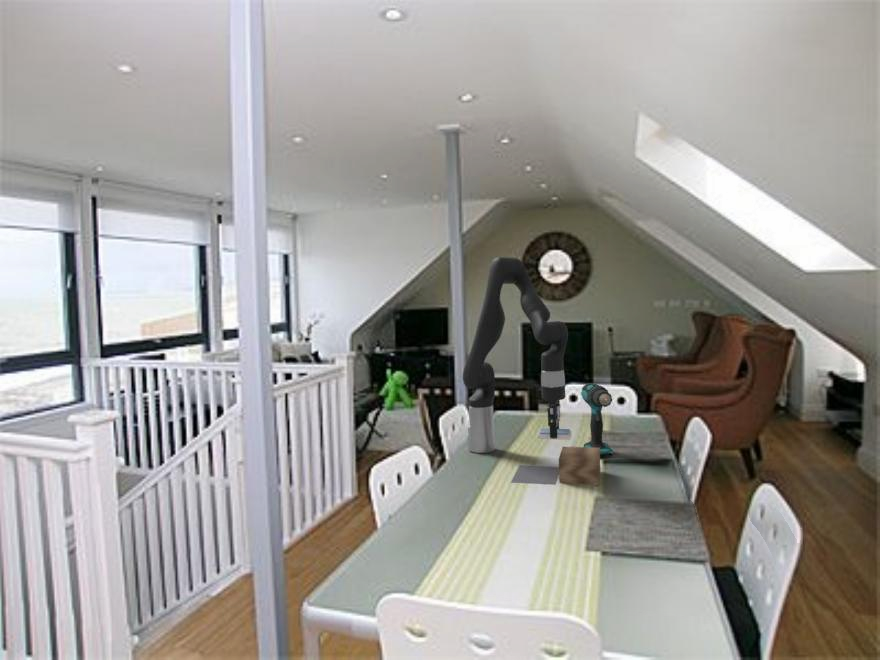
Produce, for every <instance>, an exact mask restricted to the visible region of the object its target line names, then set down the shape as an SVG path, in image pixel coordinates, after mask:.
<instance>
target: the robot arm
mask: <svg viewBox="0 0 880 660" xmlns="http://www.w3.org/2000/svg"><path fill="white" fill-rule="evenodd" d="M506 284H507V285H508V284H509V285H514V286H516V287H517V289H518V290H519V292H520V300H519V301H520V303H519V304H520V308H521V310H522V312H523V313H524V314H525V316H526V318H527V319H528V321H529V322H530V325H531V328H532V332H533V336H534V338H535V340H536V341H537V342H538V343H539V344H541V345H547V346H548V345H550V348H549V349H548V350H546V351H544V352H542V353H541V355H540V356H541V357H540V361H541V363H540V365H541V366H540V367H541V370H540V371H541V373H540V386H541V387H540V388H541V393H540V394H541V399H542V400H545V401H548V403H547V405H546V410H547V420H548V421H547V426H548V427H549V429H550V438H557V429H560V418H561V407H562V406H561V400H562V401H563V400H564V399H565V398H566V378H565V377H566V376H565V371H564V370H565V368H564V365H565V363H564V356H565V352H566V347H567V343H568V338H569V330H568V327H567V325H566V324H565V323H564V322H563V321H560V320H557V321H549V320H550V318H551V312H550V311H549V309H548V307H547V306H546V304H545V303H544V301H543V300H542V299H541V298H540V296H539V294H538V292H537V291H536V289H535V286H534V284H533V282H532V280H531V278H530V275H529V272H528V271H527V268H526V267H525V265H524V263H523V262H522V260H520V259H519V258H517V257H509V256H508V257H507V256H496V257H494V259H493V260H492V262H491V263H490V267H489V270H488V277H487V283H486V290H485V295H484V299H483V304H482V308H481V311H480V314H479V315H480V316H479V318H478V322H477V326H476V331H475V334H474V338H473V342H472V345H471V348H470V352H469V355H468V357H467V360H466V362H465V364H464V368H463V372H462V381H463V385H464V386H465V387H466V388H467V389H470V390H474V389H475V392H474V393H473V394H472V395H471V396H470V397H469V398H468V402H467V403H468V421H469V422H468V424H469V425H468V427H467V430H468V431H467V434H468V436H467V437H468V438H467V439H468V451H469V452H472V453H475V454H476V453H477V454H484V453H485V454H486V453H491V452H494V451H495V448H496V447H495V443H496V442H495V426H494V425H495V424H494V422H495V421H494V419H495V418H494V400H495V397H496V396H495V395H496V394H495V393H496V392H495V391H496V390H495V389H496V383H495V382H496V378H495V377H496V376H495V371H494V368H493V366H492V364H491V363H489V362H485V361H486V359H487V357H488V355H489V353H490V352H491V351H492V349H494V347H495V346H496V344H497V343H498V341H500V339H501V336H502V333H503V330H504V326H505V323H506V315H505V312H504V311H505V310H504V307H503V306H502V305H503V304H502V301H501V293H502V292H501V291H502V288H503V285H506Z"/></svg>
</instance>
